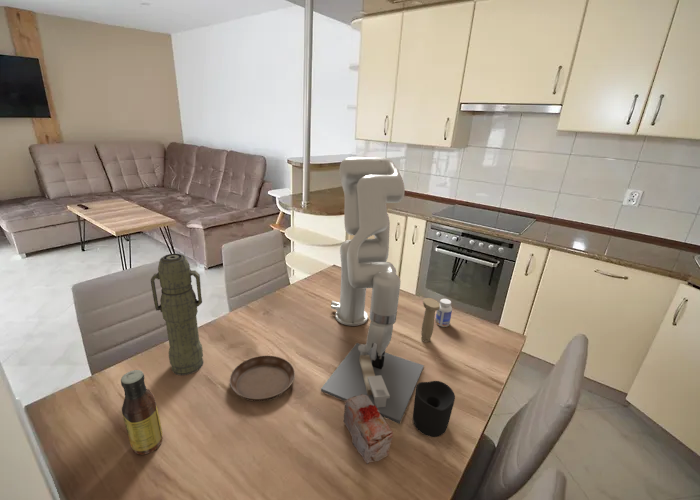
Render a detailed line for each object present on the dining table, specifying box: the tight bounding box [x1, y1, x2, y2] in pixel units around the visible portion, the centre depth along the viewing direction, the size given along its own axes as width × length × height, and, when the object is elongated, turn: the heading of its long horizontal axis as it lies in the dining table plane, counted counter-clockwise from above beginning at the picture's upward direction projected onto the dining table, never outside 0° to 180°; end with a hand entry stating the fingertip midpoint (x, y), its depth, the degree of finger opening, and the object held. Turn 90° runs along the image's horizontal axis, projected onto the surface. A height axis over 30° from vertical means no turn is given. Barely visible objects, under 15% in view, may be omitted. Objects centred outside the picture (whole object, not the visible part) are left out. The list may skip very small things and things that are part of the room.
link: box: [359, 355, 375, 395], centre depth 100 cm, size 15×3×2 cm, turn 8°
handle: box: [420, 297, 440, 343], centre depth 119 cm, size 5×6×15 cm
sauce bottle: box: [120, 369, 164, 456], centre depth 74 cm, size 6×6×20 cm
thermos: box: [150, 253, 204, 376], centre depth 96 cm, size 9×12×35 cm
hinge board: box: [320, 342, 425, 425], centre depth 101 cm, size 23×24×5 cm
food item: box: [342, 395, 394, 465], centre depth 80 cm, size 14×8×10 cm, turn 28°
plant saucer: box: [229, 355, 296, 403], centre depth 97 cm, size 18×18×3 cm
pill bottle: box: [434, 298, 453, 328], centre depth 130 cm, size 5×5×10 cm
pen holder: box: [412, 380, 456, 438], centre depth 86 cm, size 9×9×10 cm
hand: (377, 366), depth 104 cm, fingers closed
